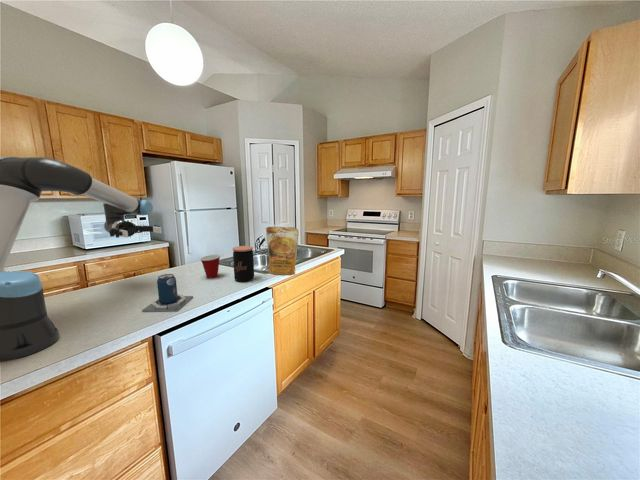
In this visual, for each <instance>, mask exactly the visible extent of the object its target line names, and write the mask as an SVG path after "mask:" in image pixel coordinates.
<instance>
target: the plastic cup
mask: <svg viewBox="0 0 640 480" xmlns="http://www.w3.org/2000/svg"><path fill="white" fill-rule="evenodd" d="M220 259H221V255H220V254H208V255H205V256H202V257H200V258H199V260H200V262H201V263H202V267H203V269H204V273H205V276H206V278H207V279H215V278H217V277H218V275H219V269H220V268H219V267H220V266H219V265H220Z"/></svg>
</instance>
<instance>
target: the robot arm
mask: <svg viewBox="0 0 640 480" xmlns="http://www.w3.org/2000/svg"><path fill="white" fill-rule="evenodd" d="M42 192H62V193H63V192H64V193H67V194H72V195H75V196H81V195H82V196H85V197H88V198H90V199H93V200H96V201H99V202H102V203H103V204H102V206H103V211H104V216H105V222H104V223H103V229H104V230H105V231H106V232H107V233H109V236H110V237H111V238H112V237H116V238H120V237H122V238H129V237H132V236H134V235H135V234H141V233H148V232H150V233H152V232H153V233H156V234H162V227H160V225H157V224H155V225H144V224H143V225H136V224H135V223H133V222H132V221H128V220H125V216H149V215H151V214H152V213H153V209H154V207H153V206H154V205H153V204H152V202H151V201H150V200H147V199H139V198H135V197H133V196H132V195H130V194H127V193H125V192H124V191H121V190H119V189H116V188H115V187H114V186H110V185H108V184H106V183H104V182H101V181H100V180H98V179H95V178H93V176H92V174H90V173H88V172H87V171H84V170H83V169H81V168H78V167H76V166H74V165H71V164H69V163H66V162H63V161H61V160H57V159H55V158H52V157H51V158H50V157H43V156H42V157H41V156H37V157H35V156H34V157H31V156H30V157H27V156H26V157H22V156H21V157H19V156H5V157H0V362H5V361H10V360H15V359H19V358H24V357H26V356H29V355H32V354H33V355H34V354H35V353H38V352H40V351H42V350H44V349H46V348H48V347H51V346H52V345H54V344H55V343H56V342H57V341H58V340H59V339H60V332H59V329H58V328H57V327H56V325H55V323H54V322H53V321H52V319H50V318H49V316H48V312H47V307H46V300H45V294H44V290H43V283H42V282H41V280H40V276H39V274H37V273H35V272H33V271H29V270H28V271H27V270H13V271H10V270H9V271H6V270H5V267H6V264H7V261H8V259H9V257H10V254H11V252H12V249H13V246H14V244H15V242H16V239H17V236H18V234H19V232H20V230H21V227H22V225H23V222H24V220H25V217H26V215H27V212H28V210H29V207H30V204H31V203H34V202H38V201H39V200H40V198H41V195H42Z"/></svg>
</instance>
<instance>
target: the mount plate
mask: <svg viewBox="0 0 640 480" xmlns="http://www.w3.org/2000/svg"><path fill="white" fill-rule="evenodd" d="M177 295H178V299H177V301H176V302H175V303H171V304H168V305H162V304H161V303H160V302H159V297H157V298H156V299H154V300H153V301H152V302H151V303H150V304H148V305H147V306H146V307H144V308H143V309H141V313H158V312H159V313H161V312H162V313H166V312H167V313H168V312H170V313H171V312H173V313H174V312H175V313H176V312H179V311H180V310H181V309H182V308H184V307H185V306H186V305H187V304H188V303H189V302H190V301H191V300H192V299H193V298H194V296H193V295H183V294H177Z"/></svg>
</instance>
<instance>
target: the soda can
mask: <svg viewBox="0 0 640 480" xmlns="http://www.w3.org/2000/svg"><path fill="white" fill-rule="evenodd" d="M156 286H157V293H158V294H157V295H158V298H159V302H160V303H161V304H162V305H168V304H171V303H175V302H176V301H177V299H178V295H179V294H178V288H177V278H176V277H175V275H174V273H164V274H161V275H159V276H158V277H157V280H156Z"/></svg>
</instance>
